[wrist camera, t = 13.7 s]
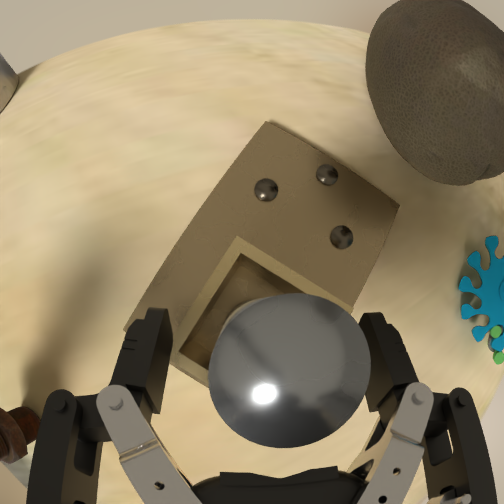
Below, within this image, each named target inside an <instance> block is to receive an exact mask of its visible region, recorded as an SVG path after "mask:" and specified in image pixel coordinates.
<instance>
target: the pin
mask: <svg viewBox="0 0 504 504" xmlns="http://www.w3.org/2000/svg"><path fill="white" fill-rule="evenodd" d="M370 371H371V359H370V351H369V347H368V343H367V340H366V338H365V335H364V333H363V331H362V330H361V328H360V326H359V325H358V323H357V322H356V321H355V319H354V318H353V317H352V316H351V315H350V314H349V313H348V312H347V311H346V310H344V309H343V308H342V307H340V306H339V305H337V304H335V303H333V302H332V301H330V300H327V299H325V298H322V297H319V296H315V295H310V294H301V293H292V294H282V295H277V296H271V297H265V298H259V299H253V300H247V301H244V302H241V303H239V304H238V305H236V306H235V307H234V308H233V309H232V310H231V311H230V312H229V314H228V316H227V318H226V320H225V323H224V325H223V327H222V330H221V332H220V335H219V337H218V339H217V342H216V344H215V347H214V349H213V352H212V355H211V359H210V363H209V371H208V382H209V390H210V394H211V398H212V401H213V403H214V406H215V408H216V410H217V411H218V413H219V415H220V416H221V418H222V419H223V420H224V422H225V423H226V424H227V425H228V426H229V427H230V428H231V429H232V430H233V431H235V432H236V433H237V434H239V435H240V436H242V437H244V438H245V439H247V440H249V441H252V442H254V443H257V444H259V445H263V446H268V447H275V448H293V447H300V446H304V445H308V444H311V443H314V442H317V441H319V440H321V439H323V438H325V437H327V436H329V435H330V434H332V433H333V432H335V431H336V430H338V429H339V428H340V427H341V426H342V425H344V424H345V423H346V422H347V421H348V419H349V418H350V417H351V416H352V415H353V414H354V412H355V411H356V409H357V408H358V406H359V405H360V403H361V401H362V399H363V397H364V395H365V392H366V390H367V386H368V383H369V378H370Z"/></svg>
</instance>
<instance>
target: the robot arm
mask: <svg viewBox="0 0 504 504" xmlns="http://www.w3.org/2000/svg"><path fill="white" fill-rule="evenodd" d="M17 84H18V76H17V74H16V73H15V72H14V71H13V69H12V68H11V67H10V65H9V64H8V63H7V62H6V60H5V59H4V57H3V56H2V55H1V53H0V112H1V111H2V109H3V108H4V107H5V105H6V104H7V103H8V101H9V100H10V98H11V97H12V95H13V93H14V91H15V89H16V87H17ZM358 325H359V326H360V328H361V330H362V331H363V333H364V335H365V338H366V340H367V343H368V347H369V351H370V359H371V371H370V378H369V383H368V386H367V390H366V392H365V396H366V400H367V404H368V408H369V412H375V411H379V415H380V416H379V417H378V419H377V421H376V423H375V425H374V427H373V429H372V431H371V433H370V435H369V437H368V439H367V441H366V443H365V445H364V447H363V449H362V451H361V452H360V454H359V455H358V456H357V457H356V459H355V460H354V461H353V462H352V464H351V465H350V467H349V468H348V470H347V472H344V471H338V467H337V466H333V467H326V468H318V469H310V470H307V471H304V472H301V473H298V474H295V475H292V476H288V477H285V478H274V477H268V476H263V475H258V474H254V473H235V472H220V476H216V477H212V478H208V479H206V480H203V481H201V482H199V483H197V484H195V485H194V486H193V485H192V483H191V482H190V481H189V480H188V478H187V477H186V476H185V474H184V473H183V471H182V470H181V469H180V467H179V466H178V465H177V463H176V462H175V461H174V459H173V458H172V457H171V455H170V454H169V452H168V451H167V449H166V448H165V446H164V444H163V443H162V441H161V440H160V438H159V437H158V435H157V433H156V432H155V430H154V428H153V427H152V425H151V423H150V422H151V417H152V413H154V414H160V411H161V405H162V399H163V393H164V388H165V382H166V377H167V372H168V366H169V361H170V356H171V351H172V346H173V331H172V326H171V322H170V317H169V312H168V309H167V308H157V307H149V308H148V309H147V312H146V315H145V318H144V319H136V320H135V321H134V322H133V323H132V324H131V325H130V326H129V327H128V330H127V333H126V335H125V338H124V339H125V340H124V341H123V344H122V349H121V350H120V353H119V356H118V360H117V363H116V366H115V369H114V372H113V376H112V379H111V382H110V383H109V385H108V386H107V387H105V388H104V389H102V390H101V391H100V393H98V394H94V395H86V396H74V395H73V394H72V393H71V392H69V391H67V390H64V389H59V390H56V391H54V392H52V393H51V394H50V395H49V397H48V398H47V401H46V404H45V407H44V411H43V415H42V418H41V422H40V426H39V430H38V434H37V439H36V443H35V448H34V453H33V458H32V464H31V470H30V476H29V483H28V491H27V500H26V504H96V501H97V488H98V478H99V469H100V461H101V453H102V446H103V442H108V441H113V443H114V445H115V447H116V449H117V451H118V453H119V456H120V457H119V460H120V463H121V465H122V467H123V469H124V471H125V473H126V475H127V476H128V478H129V480H130V481H131V483H132V485H133V486H134V488H135V490H136V491H137V493H138V494H139V496H140V497H141V499H142V500H143V502H144V503H145V504H402V502H403V500H404V498H405V496H406V494H407V492H408V490H409V488H410V485H411V483H412V481H413V479H414V476H415V474H416V472H417V469H418V467H419V464H420V462H421V459H423V465H424V470H425V477H426V483H427V490H428V498H429V501H428V502H427V504H498V503H497V495H496V489H495V483H494V477H493V472H492V467H491V462H490V457H489V453H488V449H487V445H486V442H485V437H484V434H483V430H482V427H481V423H480V420H479V417H478V414H477V411H476V407H475V404H474V402H473V399H472V396H471V394H470V393H469V392H468V391H467V390H466V389H464V388H455V389H453V390H452V391H451V392H450V393H449V394H443V393H434V392H432V391H431V390H430V388H429V387H428V386H426V385H425V384H423V383H420V382H419V380H418V378H417V376H416V373H415V370H414V368H413V365H412V363H411V360H410V358H409V355H408V353H407V352H406V348H405V346H404V344H403V341H402V338H401V336H400V334H399V332H398V331H397V330H396V329H395V327H394V326H393V325H392V324H387V322H386V320H385V318H384V316H383V314H382V313H381V312H374V313H364V314H363V315H362V317H361V319H360V322H359V324H358ZM448 429H449V433H450V437H451V441H452V446H453V454H452V449H451V445H450V440H449V436H448V432H447V430H448Z"/></svg>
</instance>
